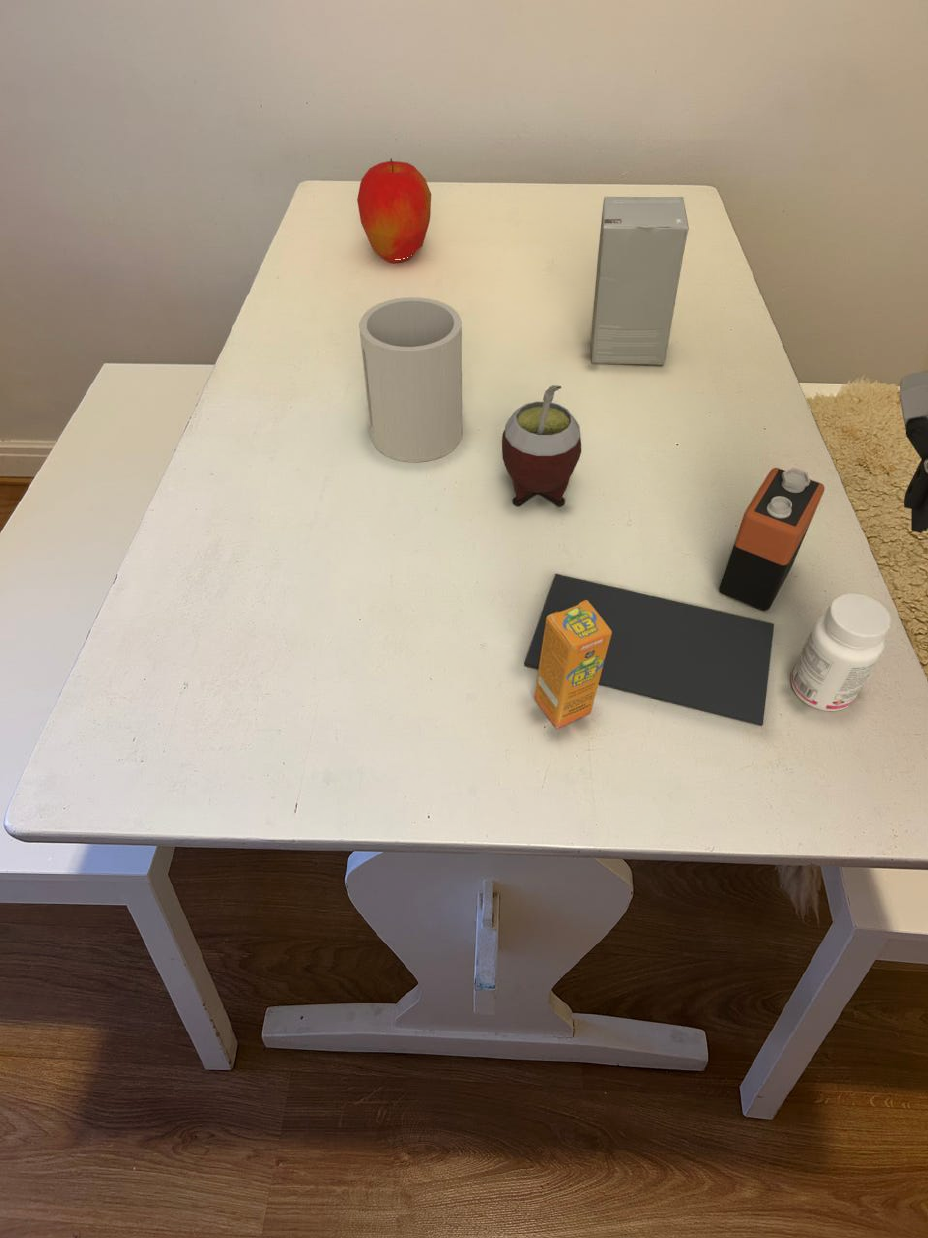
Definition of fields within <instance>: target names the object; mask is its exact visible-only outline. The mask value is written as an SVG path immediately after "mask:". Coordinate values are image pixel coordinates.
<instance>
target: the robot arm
mask: <svg viewBox="0 0 928 1238" xmlns="http://www.w3.org/2000/svg"><path fill="white" fill-rule="evenodd" d="M899 402H900V408H901V413H902V419H903V423H904V428H905V429H904V430H905V436H906V438H907V440H908V441H909V442H910V444H911V446H912V447H913V448H914V450H915V452H916V453H917V455H918V456H919V458H920V462H919V464H918V466H917V467H916V470H915V471H914V474H913V476H912V477H911V480H910V482H909V483H908V485H907V488H906V490H905V494H904V497H903V507H904V509H905V508H906V509H909V510H911V511H910V516H911V517H910V518H911V523H910V525H911V527H910V528H911V532H916V533H920V534H922V533H923V532H927V531H928V369H927V370H923V371H918V372H915V373H914V372H913V373H908V374H906V375H904V376H903V377H902V378H901V379H900V381H899Z"/></svg>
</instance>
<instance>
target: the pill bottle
mask: <svg viewBox="0 0 928 1238" xmlns="http://www.w3.org/2000/svg"><path fill="white" fill-rule="evenodd" d="M891 617H892V616H891V614H890V613H889V611H888V609H887V608H886V606H884V605H883V604H882V603H881V602H879V600H877V599H875V598H873V597H871V596H869V595H866V594H862V593H857V592H856V593H855V592H849V593H843V594H840V595H838V596H837V597H835V598H834V599H833V600H832V602H831V604H830V605H829V607H828V608H827V610H826V613H824V614H823V615H822V616H820V617H819V618H818V619H817V621H816V622H815V624H814V626H813V628H812V630H811V632H810V634H809V635H808V638H807V641H806V642H805V644H804V647H803V649H802V651H801V654H800V655H799V657H798V659H797V661H796V663H795V665H794V667H793V669H792V672H791V676H790V677H791V678H790V683H791V687H792V690H793V692H794V693H795V695H796V696H797V697H798V698H799V699H800V700H801V701H802V702H803V703H805V704H806V705H808V706H809V707H812V708H815V709H817V710H820V711H824V712H838V711H841V710H844V709H846V708H848V707H849V706H851V705H852V704H853V703H854V701H855V700H856V698H857V696H858V695H859V693H860V692H861V690H862V689H863V686H864V685H865V684H866V682H867V680H868V678H869V677H870V675H871V673H872V672H873V670H874V668H875V666H876V665H877V663H878V661H879V659H880V657H881V655H882V654H883V652H884V649H885V645H886V644H885V638H886V636H887V634H888V632H889V630H890V628H891V626H892V618H891Z"/></svg>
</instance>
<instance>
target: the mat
mask: <svg viewBox="0 0 928 1238" xmlns="http://www.w3.org/2000/svg"><path fill="white" fill-rule="evenodd" d="M585 600H588V602H589V603H590V604H591V605H592V606H593V608H594V609H595V610H596V611H597V613H598V614H599V615H600V616H601V618H602V619H603V620H604V621H605V623H606V624H607V625H608V627H609V628H610V630H611V631H612V634H611V638H610V642H609V646H608V649H607V653H606V657H605V661H604V664H603V668H602V672H601V677H600V680H599V684H598V686H602V687H607V688H610V689H614V690H619V691H622V692H627V693H630V694H634V695H638V696H642V697H646V698H650V699H654V700H658V701H662V702H666V703H669V704H673V705H676V706H677V705H678V706H682V707H685V708H690V709H693V710H696V711H701V712H705V713H709V714H713V715H717V716H720V717H725V718H728V719H733V720H737V721H741V722H745V723H748V724H753V725H755V726H760V727H762V726H763V725H764V720H765V719H764V718H765V712H766V711H765V710H766V703H767V702H766V701H767V694H768V693H767V692H768V684H769V675H770V674H769V673H770V666H771V665H770V664H771V656H772V655H771V654H772V648H773V647H772V646H773V637H774V630H775V623H774V622H773V623H772V622H770V621H769V622H768V621H765V620H760V619H756V618H751V617H748V616H747V617H746V616H742V615H738V614H733V613H729V612H725V611H721V610H717V609H712V608H707V607H703V606H699V605H694V604H690V603H685V602H681V601H676V600H672V599H669V598H668V599H667V598H663V597H659V596H655V595H651V594H647V593H641V592H636V591H633V590H628V589H625V588H620V587H615V586H611V585H608V584H607V585H606V584H603V583H599V582H593V581H589V580H585V579H581V578H577V577H572V576H567V575H562V574H559V573H555V575H554V578H553V580H552V583H551V585H550V588H549V591H548V593H547V597H546V600H545V603H544V605H543V609H542V611H541V614H540V617H539V620H538V623H537V624H536V625H537V626H536V628H535V630H534V631H535V632H534V633H533V637H532V640H531V643H530V646H529V648H528V651H527V654H526V657H525V660H524V663H523V666H524V667H528V668H531V669H535V670H539V663H540V657H541V651H542V645H543V638H544V632H545V625H546V618H547V616H548V615H550V614H553V613H555V612H561V611H564V610H567V609H569V608H572V607H574V606H577V605H579V603H580V602H582V601H585Z"/></svg>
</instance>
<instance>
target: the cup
mask: <svg viewBox="0 0 928 1238" xmlns="http://www.w3.org/2000/svg"><path fill="white" fill-rule="evenodd" d="M358 323H359V324H358V328H359V338H360V348H361V356H362V365H363V366H362V367H363V376H364V384H365V393H366V402H367V414H368V421H369V431H370V439H371V442H372V445H373V446H374V447H375V449H376V450H378V452H380V453H381V454H382V455H384V456H386V457H388V458H390V459H393V460H396V461H399V462H400V461H401V462H406V463H422V462H423V463H424V462H430V461H434V460H437V459H440V458H442V457H444V456H447V455H449V454H450V453H451V452H452V451H453V450H455V449H456V448H457V447H458V445H460V442H461V441H462V439H463V321H462V317H461V315H460V314H459V312H458V311H457V310H456V309H455V308H454V307H452V306H450V305H449V304H447V303H445V302H443V301H440V300H436V299H433V298H428V297H420V296H419V297H418V296H417V297H416V296H407V297H399V298H393V299H389V300H385V301H383V302H380V303H377V304H376V305H374V306H371V307H370V308H369V309H367V310H366V312H365V313H364V314H363V315H362V316H361V318H360V320H359V322H358Z"/></svg>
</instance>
